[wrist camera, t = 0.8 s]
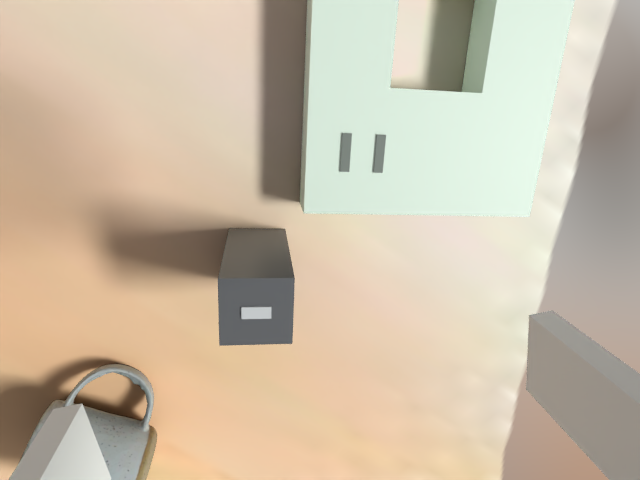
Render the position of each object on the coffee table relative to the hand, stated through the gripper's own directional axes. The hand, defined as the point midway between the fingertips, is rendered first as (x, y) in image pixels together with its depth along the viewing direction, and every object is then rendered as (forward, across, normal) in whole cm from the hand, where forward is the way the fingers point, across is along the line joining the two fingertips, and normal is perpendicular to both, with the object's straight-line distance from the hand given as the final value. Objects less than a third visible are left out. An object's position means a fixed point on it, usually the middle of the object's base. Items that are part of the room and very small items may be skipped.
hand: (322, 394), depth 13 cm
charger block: (+20, -2, -3) cm, 20 cm away
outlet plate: (+20, +11, +7) cm, 23 cm away
